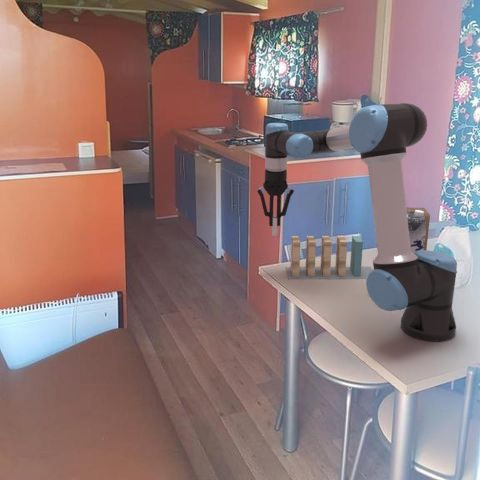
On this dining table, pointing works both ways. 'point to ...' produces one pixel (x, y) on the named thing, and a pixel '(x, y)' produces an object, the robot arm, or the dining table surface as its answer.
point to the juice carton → (416, 229)
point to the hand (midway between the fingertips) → (274, 234)
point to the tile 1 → (295, 256)
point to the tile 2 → (310, 256)
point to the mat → (333, 273)
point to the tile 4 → (341, 256)
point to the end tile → (356, 255)
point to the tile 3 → (325, 255)
